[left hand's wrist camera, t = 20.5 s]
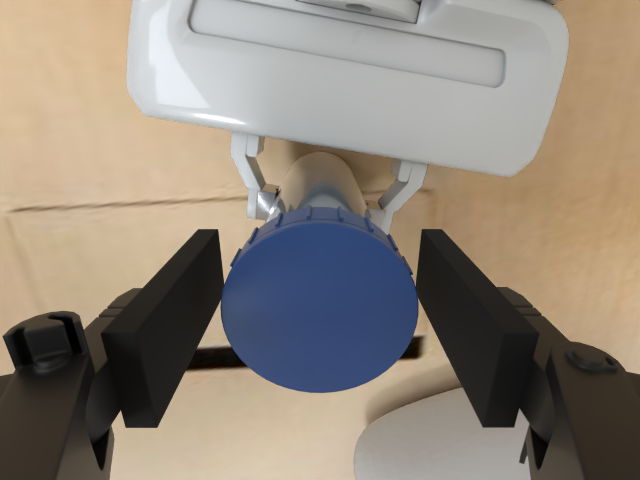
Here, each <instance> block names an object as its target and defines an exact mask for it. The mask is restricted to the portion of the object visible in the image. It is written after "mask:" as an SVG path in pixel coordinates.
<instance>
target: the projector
mask: <svg viewBox="0 0 640 480" xmlns="http://www.w3.org/2000/svg"><path fill="white" fill-rule="evenodd" d="M528 426H529V422H528V421H527V419H526V418H525V416H524V415H523V413H522V412H521V410H520V409H519V412H518V416H517V419H516V423H515V427H514V428H483V427H482V425H481V423H480V421H479V419H478V417H477V415H476V413H475V411H474V409H473V407H472V405H471V403H470V401H469V399H468V397H467V395H466V393H465V391H464V389H463V387H461V388H457V389H454V390H450V391H447V392H443V393H440V394H437V395H434V396H431V397H428V398H424V399H421V400H419V401H416V402H413V403H410V404H408V405H405V406H403V407H400V408H398V409H395V410H393V411H391V412H389V413H387V414H385V415H383V416H381V417H380V418H378V419H376V420H375V421H373V422H372V423H371V424H370V425H369V426H367V428H366V429H365V430H364V431H363V432H362V434H361V435H360V437H359V439H358V441H357V444H356V447H355V452H354V472H355V480H531V477H530V469H529V462H528V456H527V457H526V460H525V463H524V464H521V463H519V459H520V454H521V451H522V447H523V444H524V440H525V437H526V433H527V430H528Z"/></svg>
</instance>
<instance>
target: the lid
mask: <svg viewBox="0 0 640 480" xmlns="http://www.w3.org/2000/svg"><path fill="white" fill-rule="evenodd" d="M230 266H231V267H232V269H231V271H230V273H229V275H228V277H227V279H226V282H225V284H224V287H223V289H222V297H221V319H222V323H223V327H224V331H225V333H226V336H227V339H228V341H229V343H230V344H231V346H232V348H233V350H234V351H235V352H236V354H237V355H238V356H239V358H240V359H241V360H242V361H243V362H244V363H245V364H246V365H247V366H248V367H249V368H250V369H252V370H253V371H254V372H255V373H257V374H258V375H260V376H262V377H263V378H265V379H266V380H268V381H270V382H273V383H275V384H277V385H280V386H282V387H285V388H288V389H293V390H297V391H303V392H310V393H327V392H337V391H342V390H347V389H350V388H354V387H357V386H360V385H362V384H365V383H367V382H369V381H371V380H373V379H375V378H376V377H378V376H379V375H381V374H382V373H384V372H385V371H387V370H388V369H389V368H390V367H391V366H392V365H393V364H394V363H395V362H396V361H397V360H398V359H399V358H400V357H401V356H402V354H403V353H404V351H405V350H406V348H407V347H408V345H409V343H410V341H411V339H412V337H413V334H414V331H415V328H416V325H417V319H418V297H417V291H416V287H415V284H414V281H413V279H412V277H411V275H413V273H412V271H411V269H410V267H409V265H408V263H407V261H406V260H405V258H404V256H403V257H401V255H400V253H399V251H398V248H397V246H396V244H395V242H394V240H393V239H392V237H391V235H390V234H388V235H386V234H385V232H384V231H382V230H381V229H380V228H379V227H378V226H376V225H375V224H374V223H372V222H371V221H370V218H369V217H367V216H366V218H364V217H362V216H360V215H357V214H355V213H353V212H349V211H346V210H343V209H342V207H340V206H338V209H337V208H331V207H311V205H308V206H307V208H302V209H297V210H293V211H290V212H287V213H284V214H282V212H280V213H279V214H278V216H277V217H276V218H274V219H272V220H270V221H269V222H267V223H266V224H264V225H263V226H261V227H260V228H259V229H258V228H257V227H256V228H255V229H254V231H253V233H252V235H251V237H250V238H249V240H248V241H247V242H246V243H245V245H244V247H243V248H242V249H240V248H239V250H238V252H237V254H236V256H235V257H234V259H233V261H232V263H231V265H230Z"/></svg>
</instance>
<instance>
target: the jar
mask: <svg viewBox="0 0 640 480" xmlns="http://www.w3.org/2000/svg"><path fill="white" fill-rule="evenodd" d="M308 205H311V207H331V208H337V209H338V206H340V207H342V209H343V210H346V211H349V212H353V213H355V214H357V215H360V216H362V217H364V218H366V216H367V217H369V218H370V221H371V222H372V223H374V224H375V222H374V220H373V218H372V215H371V213H370V211H369V209H368V206H367V204H366V202H365V200H364V198H363V195H362V193H361V191H360V189H359V186H358V184H357V182H356V180H355V177H354V175H353V173H352V171H351V169H350V167H349V166H348V165H347V164H346V163H345V162H344V161H343V160H342V159H341V158H340V157H338V156H336V155H334V154H331V153H328V152H312V153H308V154H306V155H303V156H302V157H300V158H299V159H297V160H296V161H295V162H294V163H293V164H292V166H291V167H290V168H289V170H288V172H287V174H286V177H285V179H284V181H283V183H282V185H281V188H280V190H279V192H278V194H277V196H276V199H275V201H274V203H273V205H272V208H271V210H270V212H269V214H268V216H267V219H266V221H265V223H264V224H266V223H267V222H269V221H270V220H272V219H274V218H276V217H277V216H278V214H279V213H280V212H282V214H284V213H287V212H290V211H293V210H297V209H302V208H307V206H308ZM375 225H376V224H375Z"/></svg>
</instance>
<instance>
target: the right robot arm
mask: <svg viewBox="0 0 640 480" xmlns="http://www.w3.org/2000/svg"><path fill="white" fill-rule="evenodd" d="M560 1H562V0H132V8H131V15H130V24H129V35H128V48H127V72H126V80H127V90H128V93H129V95H130V96H131V98H132V99H133V101H134V102H135V104H136V105H137V107H138V108H139V110H140V111H141V112H142V113H143V114H144V115H145V116H147V117H152V118H158V119H164V120H170V121H175V122H181V123H187V124H193V125H199V126H205V127H211V128H217V129H223V130H229V131H232V136H231V151H230V154H231V156H232V158H233V160H234V163H235V165H236V167H237V169H238V171H239V173H240V175H241V177H242V179H243V181H244V183H245V186H246V188H249V195H248V206H247V218H251V219H259V220H266V219H267V216H268V214H269V212H270V210H271V208H272V205H273V203H274V201H275V199H276V196H277V194H278V192H279V186H276V185H271V184H265V183H266V182H265V180H264V178H263V175H262V173H261V170H260V168H259V165H258V163H257V161H256V158H255V157H256V156H257V155H258V154H260V153H261V152H262V151H263V148H264V139H265V137H270V138H276V139H282V140H288V141H294V142H300V143H306V144H312V145H318V146H324V147H330V148H336V149H341V150H347V151H353V152H359V153H365V154H371V155H377V156H383V157H389V158H393V163H392V167H391V173H392V174H393V175H394V176H395V177H396V178H397V179H396V181H395V182H394V183H393V184H392V185H391V186H390V187H389V189H388V190H387V191H386V192H385V193H384V194H383V196H382V197H381V198H380V199H379V200H378V202H377V201H370V200H365V202H366V204H367V206H368V209H369V211H370V213H371V215H372V218H373V220H374V222H375V224H376V226H378V227H379V228H380V229H381V230H382V231H384V232H385V234H386V235H388V234H389V230H390V226H391V222H392V218H393V215H394V212H397V211H398V210H399V209H400V208H401V207H402V206H403V205H404V204H405V203H406V202H407V201H408V200H409V199H410V198H411V197H412V196H413V195H414V194H415V193H416V192H417V191H418V190H419V188H420V187H421V186H422V185H423V181H424V178H425V174H426V170H427V167H428V164H430V165H436V166H442V167H448V168H454V169H460V170H466V171H472V172H478V173H484V174H490V175H496V176H502V177H512V176H514V175H515V174H517V173H518V172H520V171H521V170H522V169H523V168H525V167H526V166H527V165H528V164H529V163H531V162H532V161H533V159H534V158H535V156H536V154H537V153H538V150H539V148H540V146H541V143H542V141H543V138H544V135H545V133H546V130H547V127H548V124H549V121H550V118H551V115H552V112H553V109H554V106H555V103H556V99H557V96H558V93H559V89H560V86H561V82H562V78H563V75H564V70H565V66H566V62H567V57H568V50H569V32H568V27H567V24H566V21H565V19H564V17H563V15H562V14H561V13H560V11H559V10H558V9H557V8H555V7H554V6H553V5H554V4H556V3H558V2H560Z"/></svg>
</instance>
